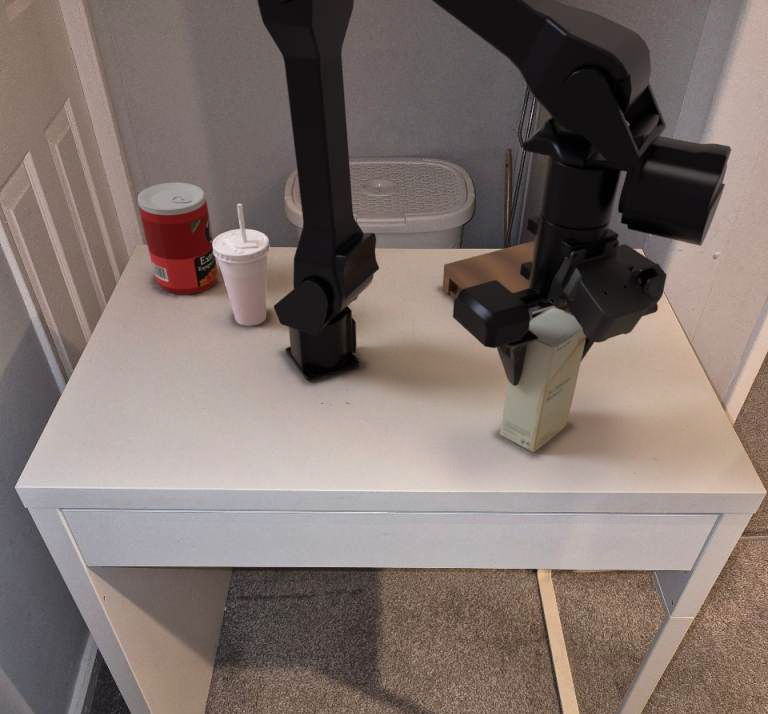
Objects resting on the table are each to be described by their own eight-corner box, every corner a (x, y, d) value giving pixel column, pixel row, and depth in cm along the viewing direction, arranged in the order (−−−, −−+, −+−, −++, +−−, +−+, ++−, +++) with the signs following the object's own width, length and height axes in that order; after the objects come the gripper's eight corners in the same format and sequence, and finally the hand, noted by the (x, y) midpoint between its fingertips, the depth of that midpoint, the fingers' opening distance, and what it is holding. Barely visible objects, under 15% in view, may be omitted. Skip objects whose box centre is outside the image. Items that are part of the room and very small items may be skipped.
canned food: (213, 296, 95) (198, 210, 87) (149, 295, 95) (129, 208, 87) (223, 265, 100) (210, 182, 93) (163, 264, 101) (145, 181, 93)
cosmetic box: (533, 454, 75) (554, 350, 66) (497, 434, 77) (512, 331, 68) (568, 424, 78) (592, 321, 70) (532, 406, 80) (552, 304, 72)
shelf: (494, 336, 89) (498, 310, 87) (442, 289, 97) (444, 264, 94) (589, 307, 94) (594, 282, 92) (532, 265, 101) (536, 240, 99)
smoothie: (254, 338, 89) (239, 222, 79) (212, 321, 91) (192, 207, 81) (287, 313, 93) (277, 199, 82) (246, 298, 95) (231, 185, 85)
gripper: (540, 286, 53) (511, 452, 65) (734, 231, 60) (676, 391, 71) (456, 222, 60) (443, 382, 71) (638, 178, 66) (599, 332, 78)
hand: (543, 373), depth 73 cm, fingers closed on cosmetic box, 7 cm apart
